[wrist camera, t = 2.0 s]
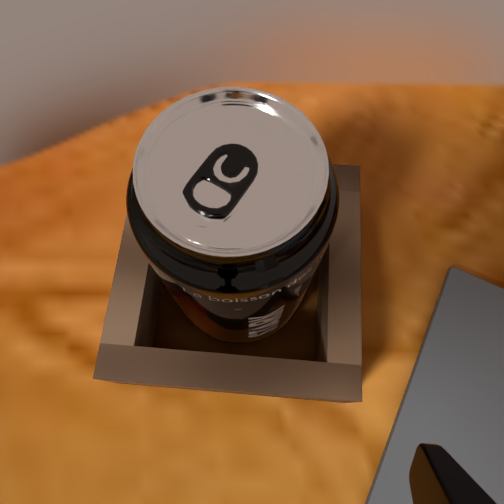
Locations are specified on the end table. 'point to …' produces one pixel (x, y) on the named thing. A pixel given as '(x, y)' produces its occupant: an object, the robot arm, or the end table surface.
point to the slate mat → (453, 392)
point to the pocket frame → (242, 366)
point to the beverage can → (233, 208)
